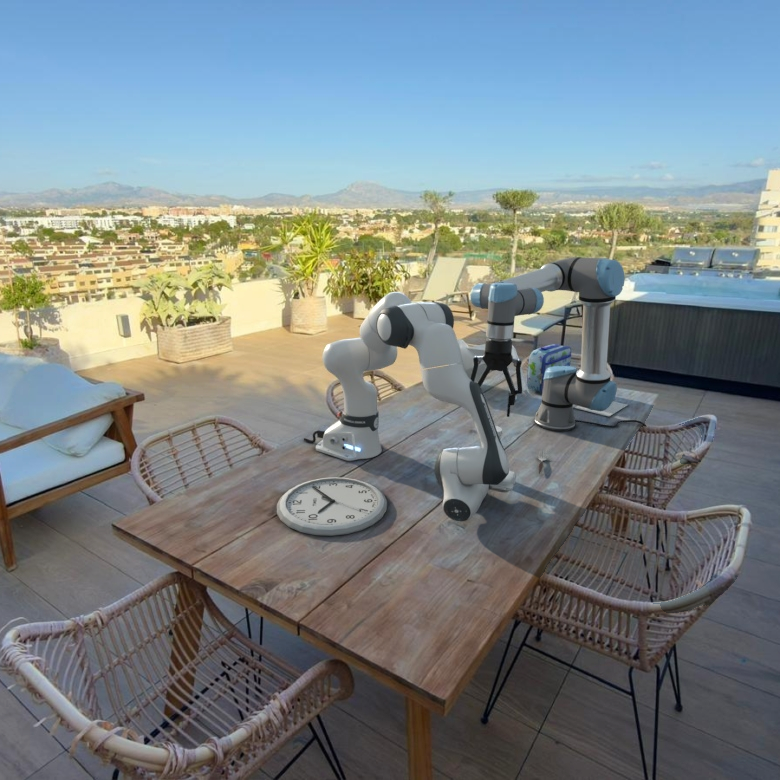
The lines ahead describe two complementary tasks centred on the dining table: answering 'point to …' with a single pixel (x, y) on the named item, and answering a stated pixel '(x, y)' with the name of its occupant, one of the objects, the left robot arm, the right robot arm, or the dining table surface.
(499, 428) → the lid
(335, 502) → the wall clock
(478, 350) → the white plastic object
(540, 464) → the fork
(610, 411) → the invitation card
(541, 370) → the lunch box
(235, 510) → the dining table surface
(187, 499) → the dining table surface
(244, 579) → the dining table surface
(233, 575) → the dining table surface
